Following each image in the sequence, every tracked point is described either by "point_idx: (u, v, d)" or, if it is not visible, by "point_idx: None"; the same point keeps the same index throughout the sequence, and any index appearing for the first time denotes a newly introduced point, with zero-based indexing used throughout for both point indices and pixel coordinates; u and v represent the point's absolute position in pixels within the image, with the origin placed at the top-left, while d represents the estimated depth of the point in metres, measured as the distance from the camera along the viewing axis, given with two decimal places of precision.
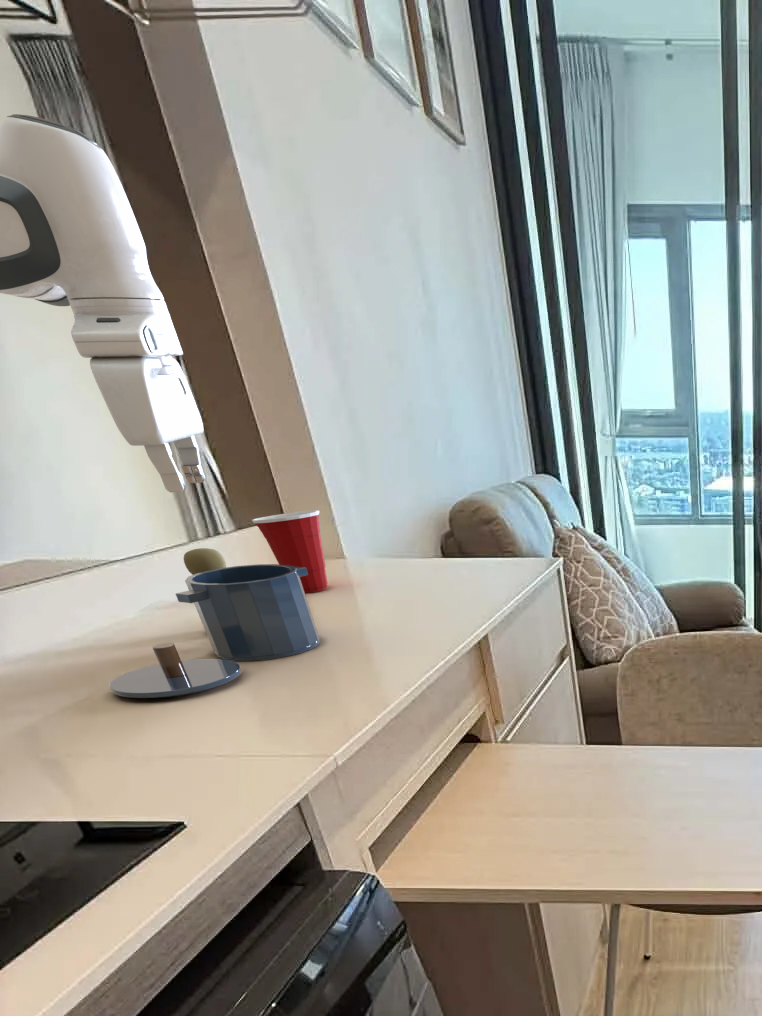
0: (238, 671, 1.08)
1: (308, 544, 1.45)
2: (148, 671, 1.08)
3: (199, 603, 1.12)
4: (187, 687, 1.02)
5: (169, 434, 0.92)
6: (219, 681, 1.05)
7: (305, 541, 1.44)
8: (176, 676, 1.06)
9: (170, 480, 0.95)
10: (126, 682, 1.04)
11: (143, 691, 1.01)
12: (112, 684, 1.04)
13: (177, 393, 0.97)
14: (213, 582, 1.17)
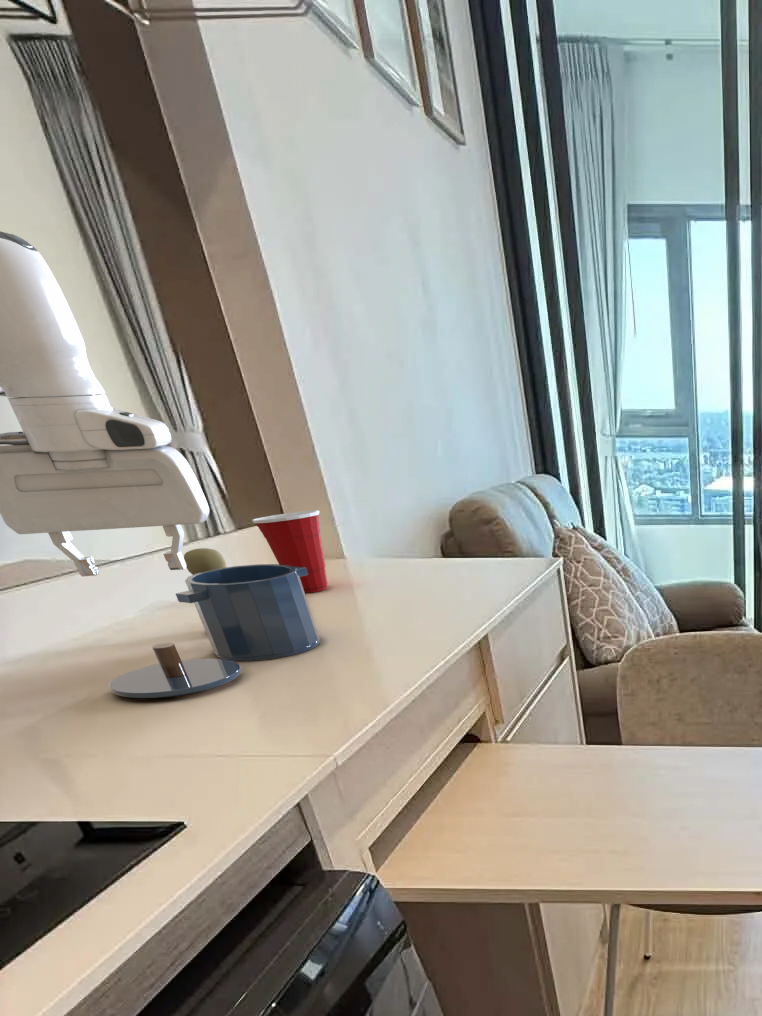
0: (238, 671, 1.08)
1: (308, 544, 1.45)
2: (148, 671, 1.08)
3: (199, 603, 1.12)
4: (187, 687, 1.02)
5: None
6: (219, 681, 1.05)
7: (305, 541, 1.44)
8: (176, 676, 1.06)
9: (181, 558, 1.00)
10: (126, 682, 1.04)
11: (143, 691, 1.01)
12: (112, 684, 1.04)
13: None
14: (213, 582, 1.17)
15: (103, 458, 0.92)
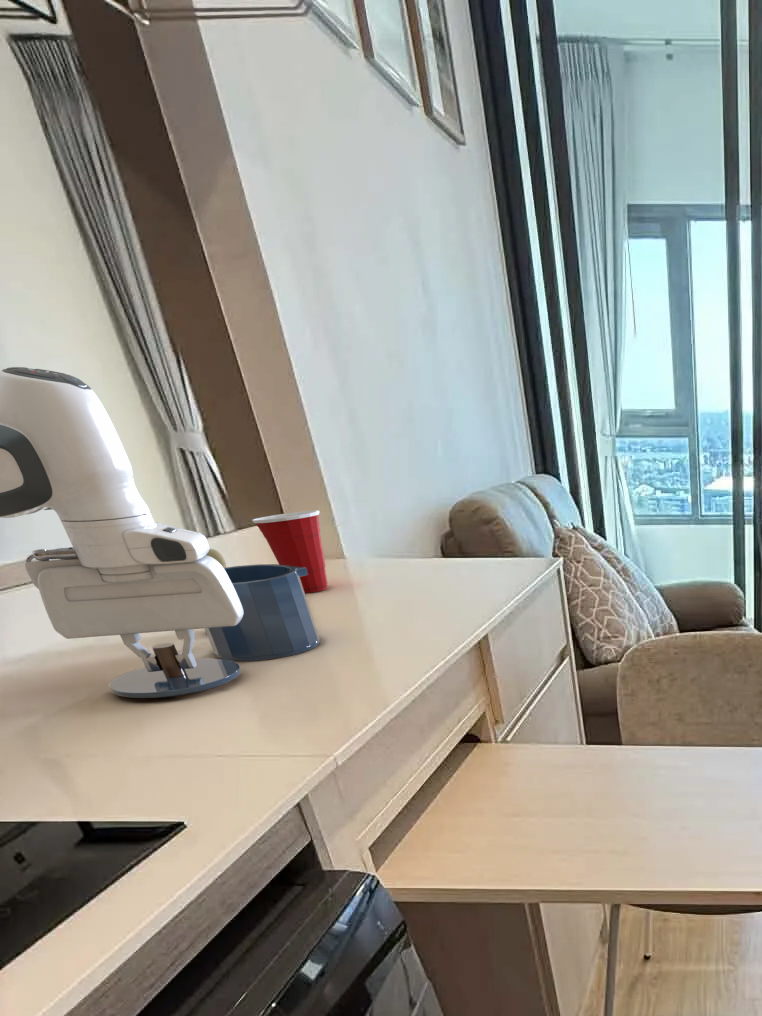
0: (238, 671, 1.08)
1: (308, 544, 1.45)
2: None
3: None
4: (187, 687, 1.02)
5: None
6: (219, 681, 1.05)
7: (305, 541, 1.44)
8: (176, 676, 1.06)
9: (191, 657, 1.06)
10: (126, 682, 1.04)
11: (143, 691, 1.01)
12: (112, 684, 1.04)
13: None
14: None
15: (147, 571, 0.98)
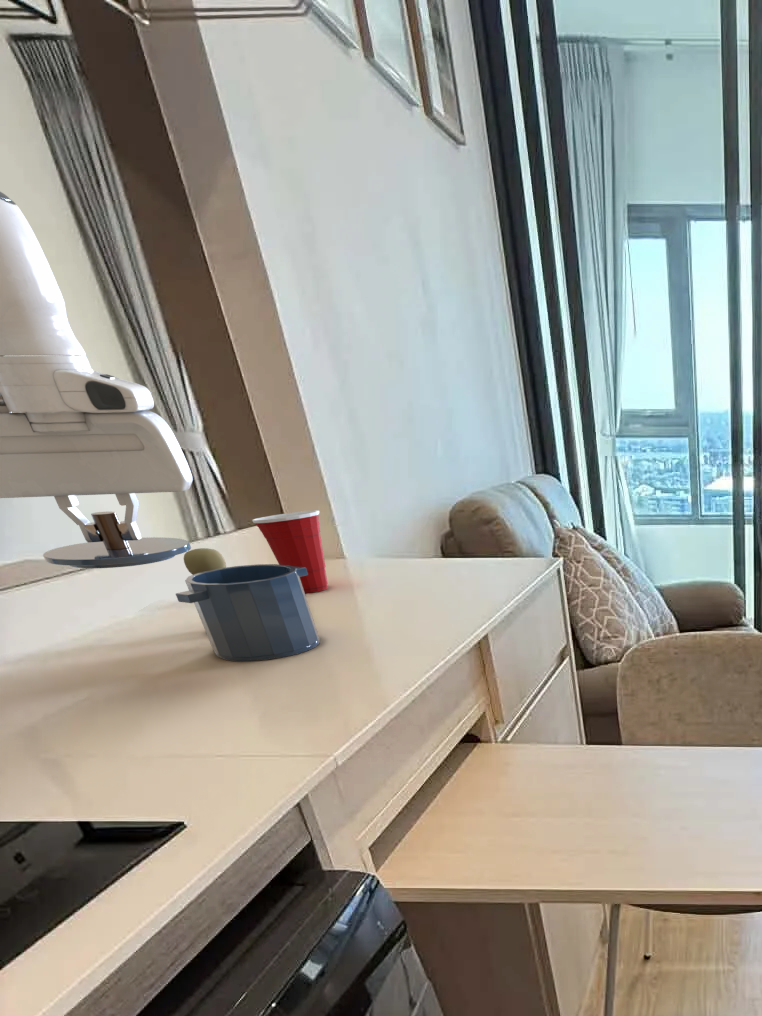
0: (187, 546, 0.99)
1: (308, 544, 1.45)
2: (88, 545, 0.99)
3: (199, 603, 1.12)
4: (128, 556, 0.94)
5: None
6: (164, 553, 0.96)
7: (305, 541, 1.44)
8: (118, 548, 0.97)
9: (135, 528, 0.97)
10: (62, 552, 0.95)
11: (79, 558, 0.93)
12: (46, 553, 0.95)
13: None
14: (213, 582, 1.17)
15: (83, 421, 0.89)
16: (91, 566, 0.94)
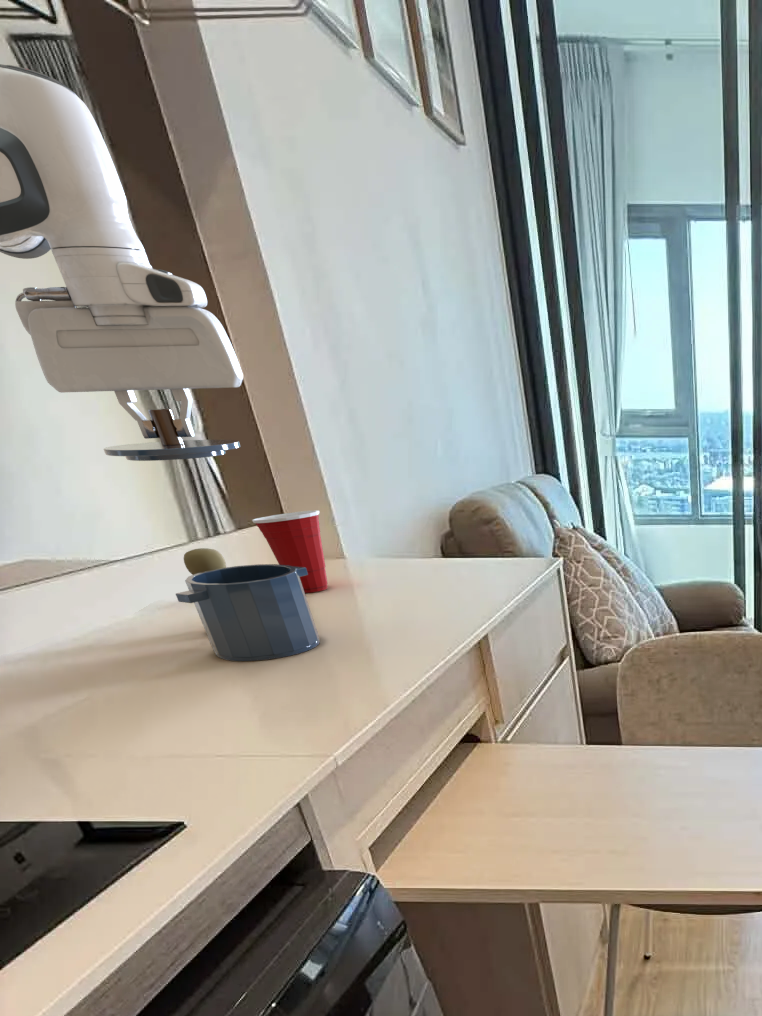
0: (237, 443, 1.04)
1: (308, 544, 1.45)
2: (144, 444, 1.04)
3: (199, 603, 1.12)
4: (184, 447, 0.98)
5: None
6: (217, 446, 1.01)
7: (305, 541, 1.44)
8: (173, 444, 1.02)
9: (189, 425, 1.02)
10: (121, 447, 1.01)
11: (138, 449, 0.98)
12: (106, 448, 1.00)
13: None
14: (213, 582, 1.17)
15: (142, 316, 0.94)
16: (149, 458, 0.99)
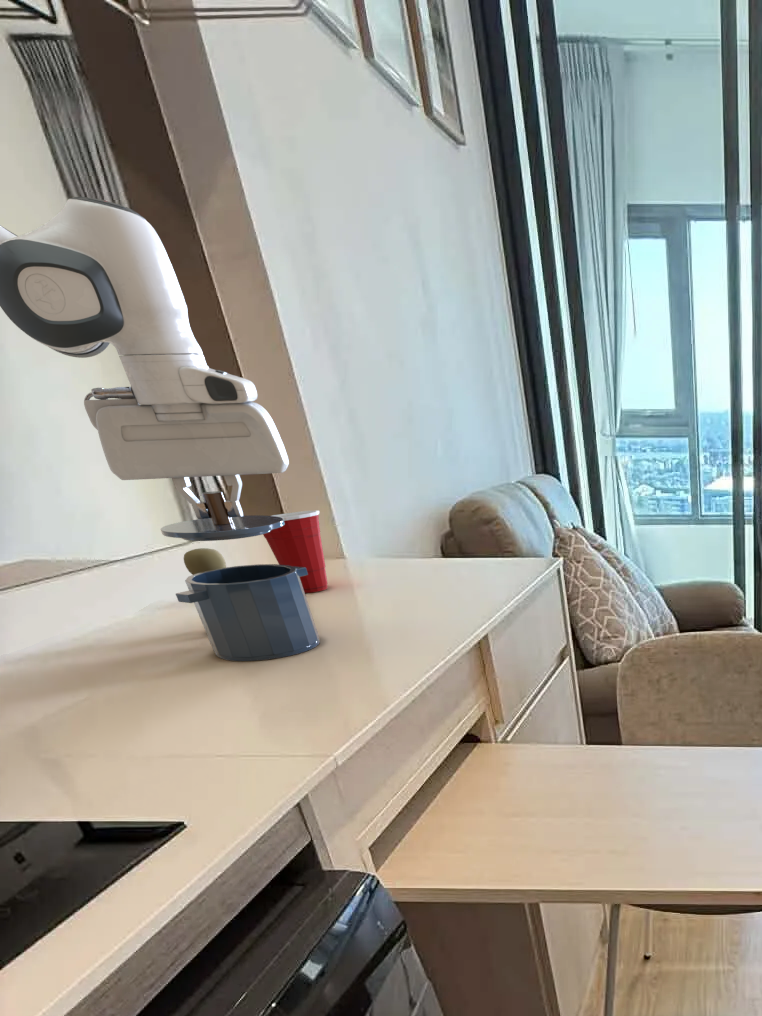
0: (282, 522, 1.12)
1: (308, 544, 1.45)
2: (196, 522, 1.12)
3: (199, 603, 1.12)
4: (236, 529, 1.07)
5: None
6: (265, 527, 1.09)
7: (305, 541, 1.44)
8: (224, 523, 1.10)
9: (239, 506, 1.10)
10: (176, 527, 1.09)
11: (194, 532, 1.06)
12: (163, 528, 1.08)
13: None
14: (213, 582, 1.17)
15: (200, 412, 1.03)
16: (203, 539, 1.07)
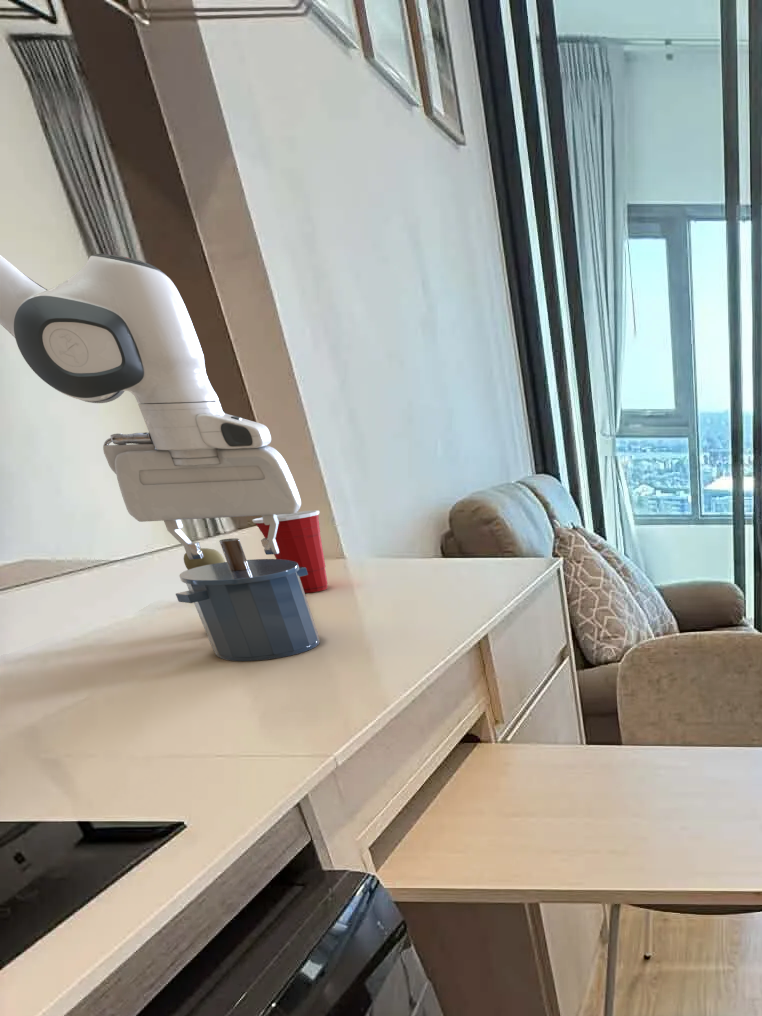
0: (297, 567, 1.16)
1: (308, 544, 1.45)
2: (213, 567, 1.16)
3: (199, 603, 1.12)
4: (252, 576, 1.10)
5: None
6: (281, 573, 1.12)
7: (305, 541, 1.44)
8: (240, 569, 1.14)
9: (275, 544, 1.14)
10: (194, 574, 1.12)
11: (212, 579, 1.09)
12: (182, 575, 1.12)
13: None
14: None
15: (215, 456, 1.06)
16: None
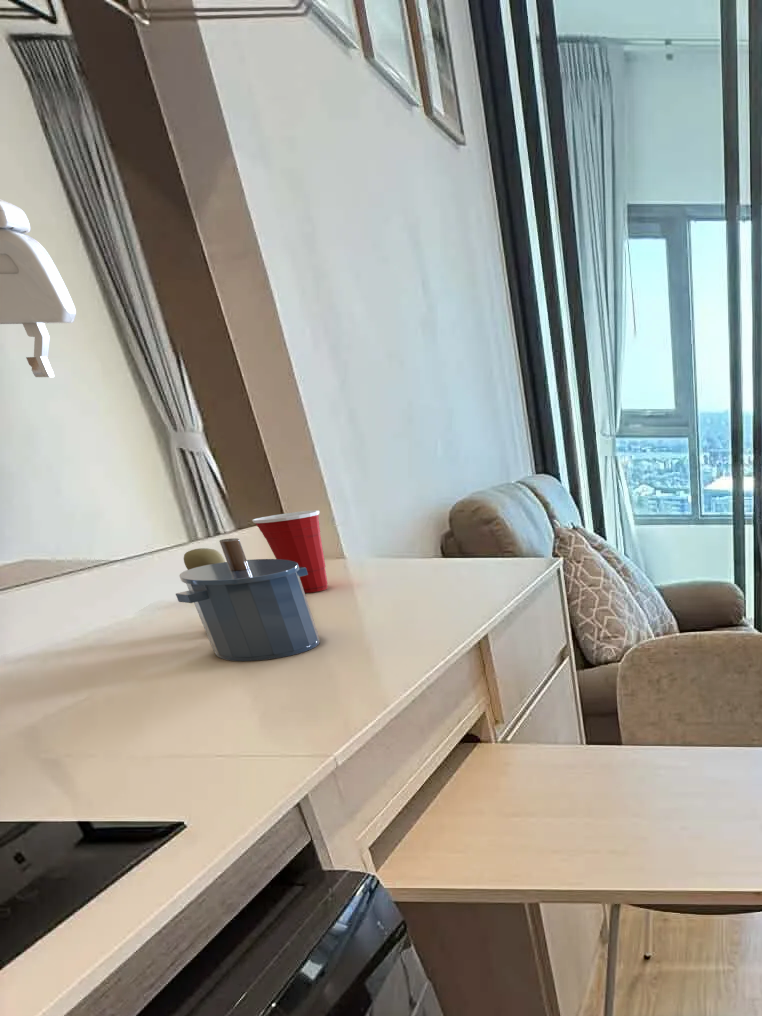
0: (297, 567, 1.16)
1: (308, 544, 1.45)
2: (213, 567, 1.16)
3: (199, 603, 1.12)
4: (252, 576, 1.10)
5: None
6: (281, 573, 1.12)
7: (305, 541, 1.44)
8: (240, 569, 1.14)
9: (46, 364, 0.94)
10: (194, 574, 1.12)
11: (212, 579, 1.09)
12: (182, 575, 1.12)
13: None
14: None
15: None
16: None
